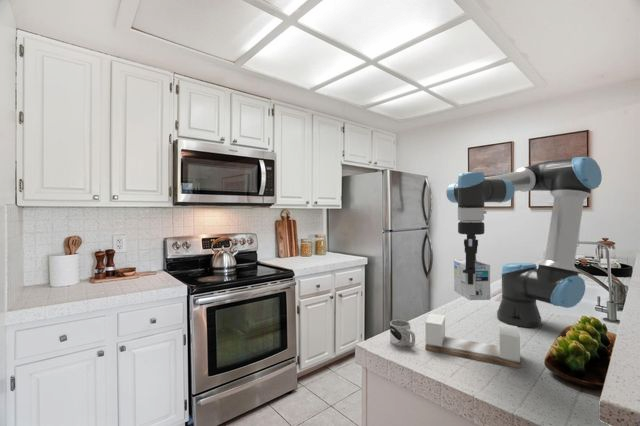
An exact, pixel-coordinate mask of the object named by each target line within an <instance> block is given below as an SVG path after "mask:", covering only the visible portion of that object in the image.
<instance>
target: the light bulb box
mask: <svg viewBox="0 0 640 426" xmlns="http://www.w3.org/2000/svg"><path fill="white" fill-rule="evenodd" d="M465 269H466V258H465V259H462V258H461V259H458V258H457V259H456V258H455V259H453V290H454V292H455V293H456V294H458V295H460V296H462V297H463V298H465V299H466V300H469V301H491V265H490V264H487V263H484V262H481V261H478V260H476V261H475V273H476V295H466V289H465V273H463V270H465Z"/></svg>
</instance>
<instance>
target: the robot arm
mask: <svg viewBox="0 0 640 426" xmlns="http://www.w3.org/2000/svg"><path fill="white" fill-rule="evenodd" d="M602 180H603V179H602V170H601V168H600V165H599V164H598V162H597V160H595V159H593V158H592V157H590V156H579V157H578V156H575V157H570V158H563V159H557V160H548V161H542V162H538V163H536V164H532V165H528V166H525V167H520V168H518V169H516V170H515V171H512V172H508V173H503V174H497V175H492V176H487V177H485V174H484V172H482V171H468V172H462V173H459V175H458V178H457V182H455V183H450V184H449V185H448V187H447V188H446V198H447V199H448V201H449V202H451V203H454V204H457V205H458V206H457V221H459V222H458V223H457V232H458V234H459V235H466V238H464V239H463V246H464V253H465V259H466V269H465V270H463V273H465V289H466V295H476V273H475V261H477V253H478V247H479V239H476V238H477V236H478V235H479V236H480V235H484V234H485V222H483V221H485V215H486V214H488V213H487V210H485V203H500V204H501V203H505V202H509V201H510V200H512V198H514V195H515V192H519V191H520V192H522V193H523V192H525V193H526V192H531V191H538V192H539V191H540V192H541V191H543V192H544V191H545V192H546V191H549V194H550V195H551V196H552V197H553V198H554V199H553V205H552V209H551V210H552V211H551V217H550V223H549V229H548V230H549V231H548V236H547V241H546V242H547V243H546V249H545V254H544V260H543V261H541V262H540V263H538V266H537V263H531V262H512V263H505V264H503V265H502V268H501V301H500V304H499V306H498V309H497V311H496V317H497V319H498V320H499V321H501V322H502V323H504V324H507V325H511V326H517V327H522V328H537V327H538V328H539V327H540V326H541V325H542V316H541V313H540V311H539V308H538V305H537V301H539V302H543V303H545V304H546V303H547V304H550V305H553V306H555V307H561V308H565V309H567V308H568V309H569V308H574V307H575V306H577V304H579V303H580V302H581V301H582V300H583V297H584V296H585V293H586V284H585V280H584V278H582V277H581V276H580V275H579V273H580V271H579V270H578V269H577V267H576V266H575V261H576V255H577V249H578V241H579V236H580V229H581V221H582V216H583V209H584V203H585V200H586V199H587V198H589V197H590V196H591V193H592V190H596V189H597V188H599V186H600V185H601V184H602ZM476 235H477V236H476ZM537 267H538V268H537Z"/></svg>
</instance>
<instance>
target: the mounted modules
mask: <svg viewBox="0 0 640 426" xmlns="http://www.w3.org/2000/svg"><path fill="white" fill-rule="evenodd" d="M518 327H519V326H515V325H511V324H505V323H504V324H503V323H498V346H499V354H500V358H505V359H510V360H515V361H520V362H521V336H520V332H519V328H518ZM445 337H446V316H445V315H443V314H437V313H436V314H435V313H429V315H428V317H427V318H426V321H425V345H426V344H432V345H437V346H442V345H443V341H444V338H445Z"/></svg>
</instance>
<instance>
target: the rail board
mask: <svg viewBox="0 0 640 426" xmlns="http://www.w3.org/2000/svg"><path fill="white" fill-rule="evenodd" d="M426 350H427V351H431V352H435V353H442V354H447V355H450V356H456V357H462V358H466V359H470V360H471V359H472V360H476V361H482V362H487V363H492V364H496V365H500V366H501V365H502V366H505V367H511V368H516V369H521V360H520V361H515V360H510V359H505V358H500V354H499V345H495V344H489V343H483V342H479V341H473V340H467V339H461V338H458V337H457V338H455V337H449V336H445V338H444V341H443V345H442V346H437V345H432V344H426V343H425V351H426Z"/></svg>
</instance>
